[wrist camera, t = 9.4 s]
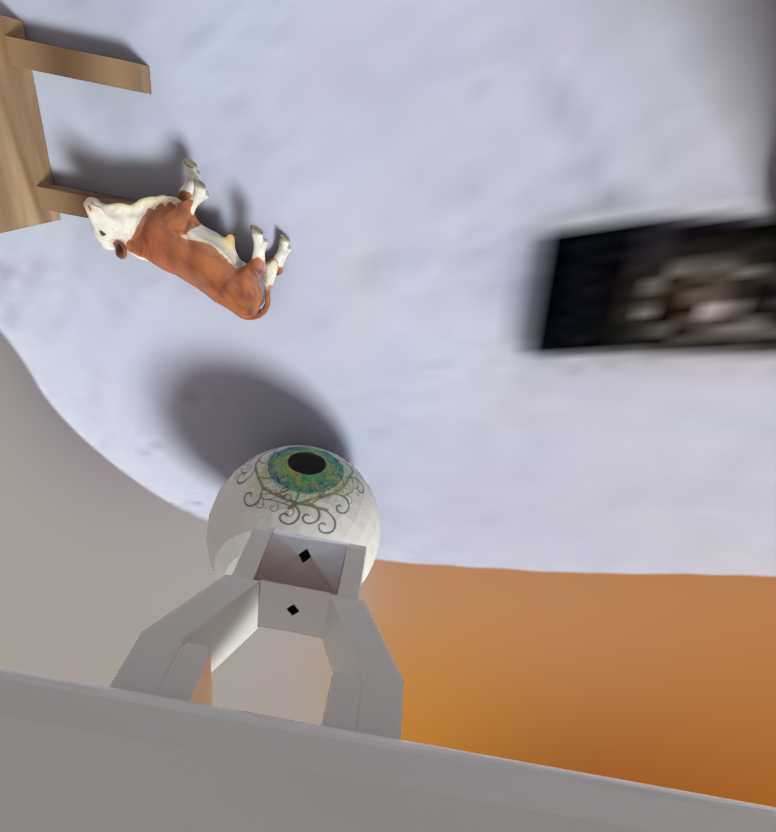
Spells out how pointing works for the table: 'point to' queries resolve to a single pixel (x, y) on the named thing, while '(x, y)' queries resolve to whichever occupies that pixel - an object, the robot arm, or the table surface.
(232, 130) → the table surface
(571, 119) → the table surface
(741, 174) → the table surface
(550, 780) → the robot arm
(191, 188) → the bull figurine
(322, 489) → the decorative object
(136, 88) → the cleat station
